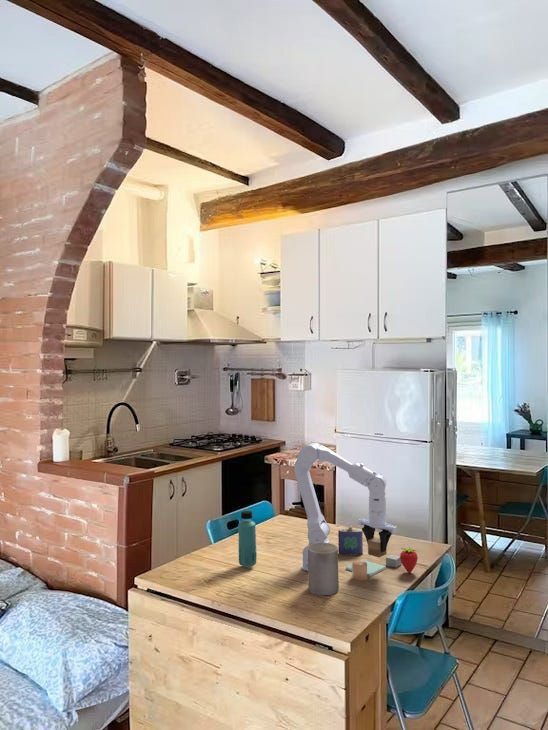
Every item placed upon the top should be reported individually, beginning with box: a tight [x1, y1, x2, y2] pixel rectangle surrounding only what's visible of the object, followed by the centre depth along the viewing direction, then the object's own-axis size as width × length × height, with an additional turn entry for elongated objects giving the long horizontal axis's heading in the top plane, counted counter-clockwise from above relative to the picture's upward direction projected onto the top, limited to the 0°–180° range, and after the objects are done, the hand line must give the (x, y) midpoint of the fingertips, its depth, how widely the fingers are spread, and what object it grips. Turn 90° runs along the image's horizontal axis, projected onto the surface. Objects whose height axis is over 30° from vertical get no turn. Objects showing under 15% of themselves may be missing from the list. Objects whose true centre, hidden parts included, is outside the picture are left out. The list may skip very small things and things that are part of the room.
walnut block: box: [367, 536, 387, 558], centre depth 194 cm, size 4×4×5 cm
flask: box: [337, 525, 364, 556], centre depth 213 cm, size 9×3×11 cm, turn 88°
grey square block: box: [385, 554, 402, 569], centre depth 202 cm, size 4×4×3 cm
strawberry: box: [399, 543, 419, 574], centre depth 194 cm, size 6×8×10 cm
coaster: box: [345, 559, 387, 578], centre depth 198 cm, size 10×10×1 cm
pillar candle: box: [307, 542, 340, 596], centre depth 180 cm, size 10×10×15 cm
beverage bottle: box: [237, 510, 257, 567], centre depth 200 cm, size 6×7×20 cm
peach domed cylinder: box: [351, 560, 368, 582], centre depth 190 cm, size 5×5×5 cm
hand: (377, 549), depth 194 cm, fingers closed on walnut block, 4 cm apart
